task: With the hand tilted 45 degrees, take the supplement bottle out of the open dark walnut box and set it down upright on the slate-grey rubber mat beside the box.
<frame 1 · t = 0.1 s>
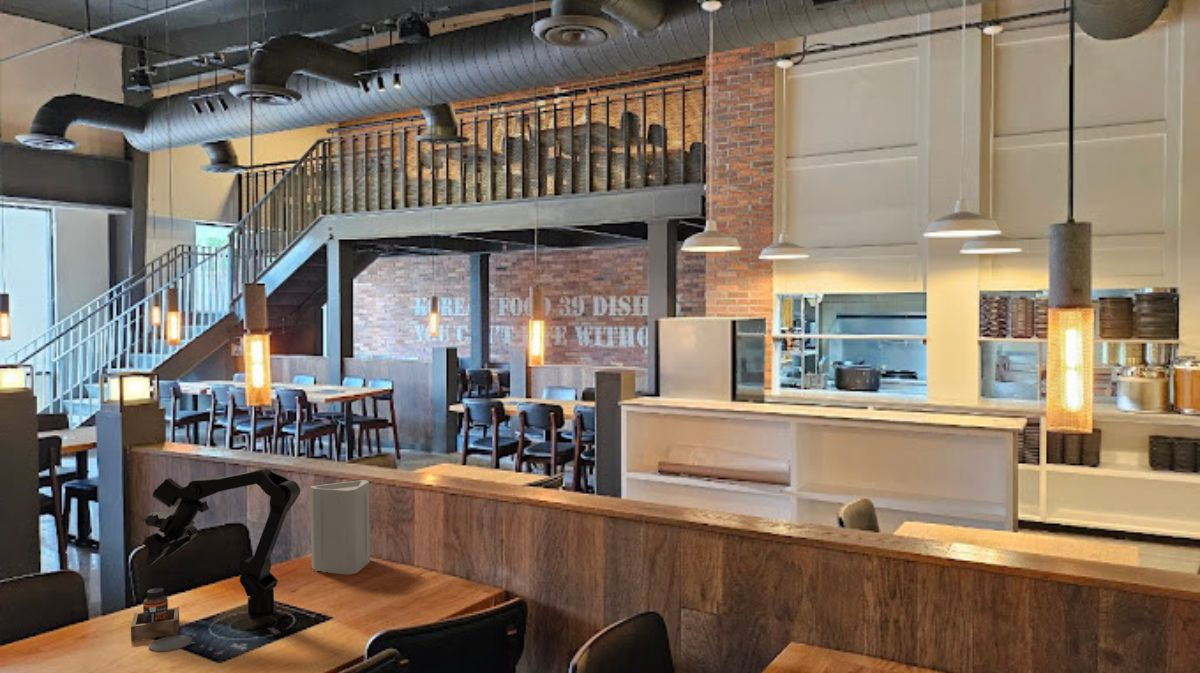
hand: (156, 560, 240), 15 cm above the table, tool tilted 35°, fingers open, 9 cm apart
supplement bottle: (156, 631, 226), resting in walnut box
walnut box: (156, 631, 226), on the table
rubber mat: (170, 644, 216), on the table
grey rounded wastebasket: (345, 569, 281), on the table
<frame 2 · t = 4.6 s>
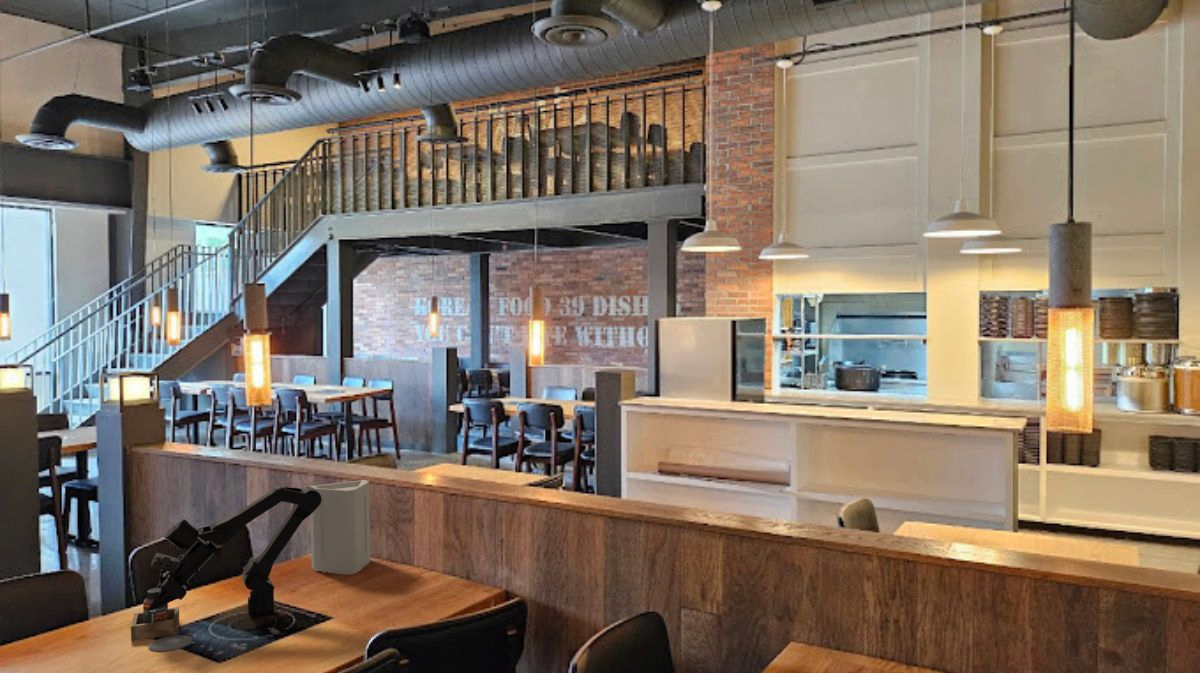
hand: (149, 606, 225), 7 cm above the table, tool tilted 45°, fingers closed on supplement bottle, 6 cm apart
supplement bottle: (156, 631, 226), resting in walnut box, touching gripper
everything else where it was.
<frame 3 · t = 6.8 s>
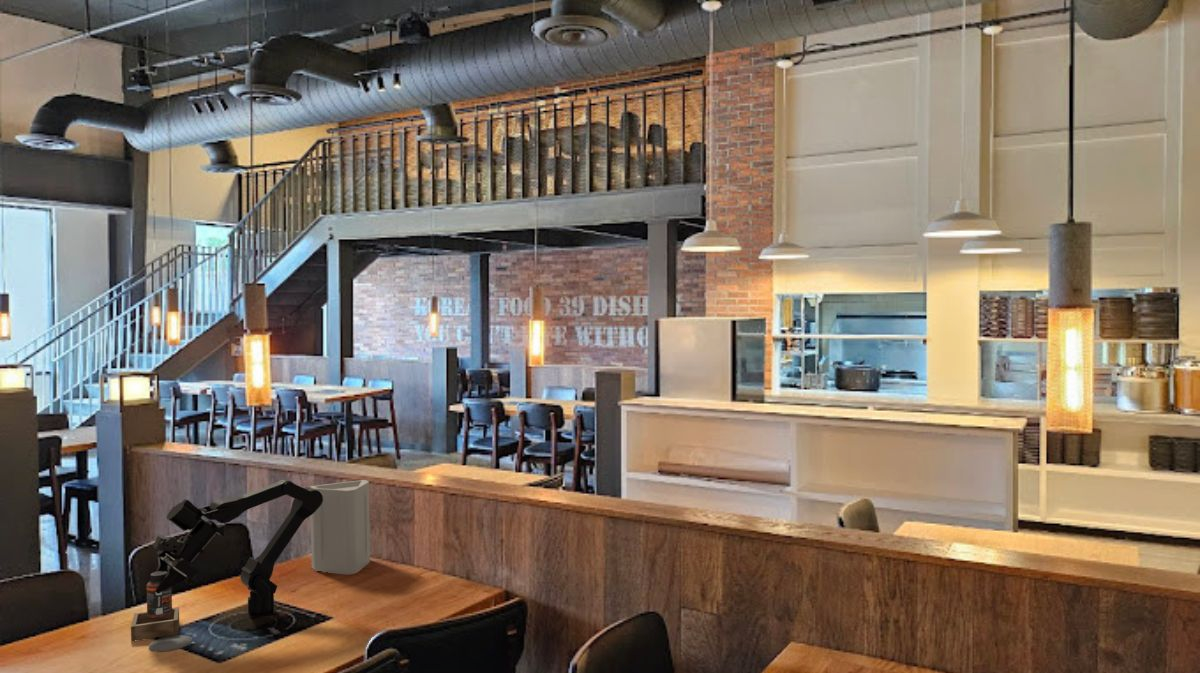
hand: (153, 589, 220), 13 cm above the table, tool tilted 45°, fingers closed on supplement bottle, 6 cm apart
supplement bottle: (159, 615, 221), point 6 cm above the table, touching gripper
everything else where it was.
when the fingers open (8 cm above the table, at t = 9.3 s): supplement bottle stays where it is, resting on rubber mat.
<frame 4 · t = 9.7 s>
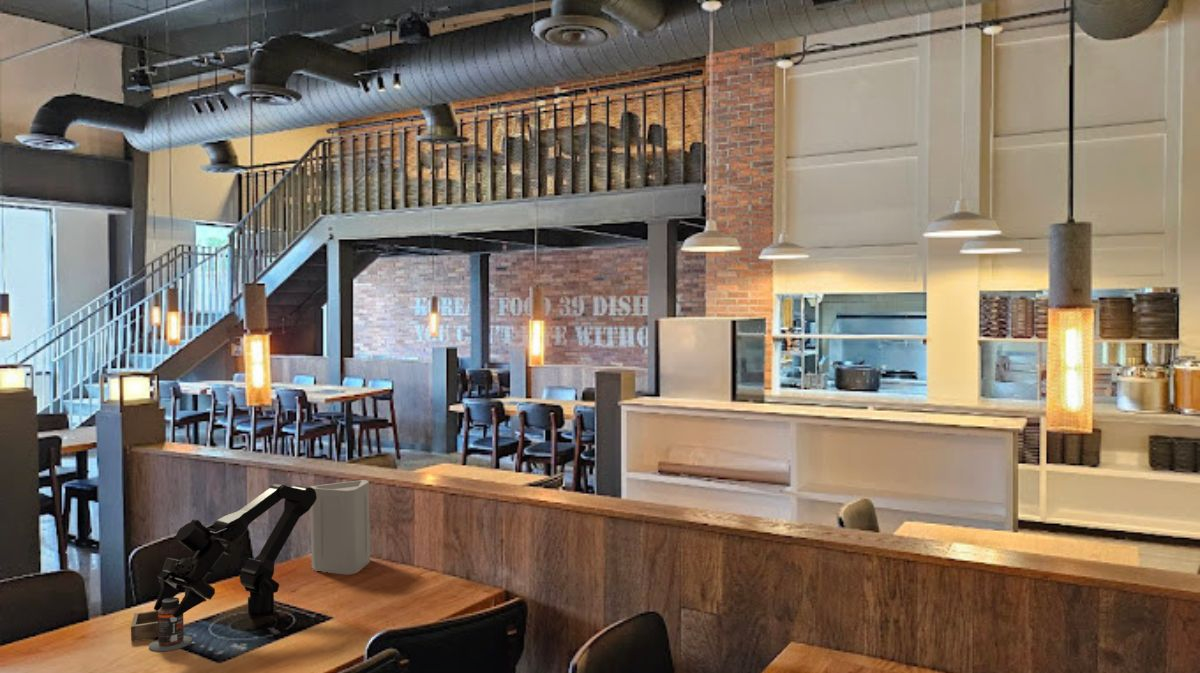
hand: (164, 613, 215), 9 cm above the table, tool tilted 45°, fingers open, 9 cm apart
supplement bottle: (171, 643, 217), resting on rubber mat
everything else where it was.
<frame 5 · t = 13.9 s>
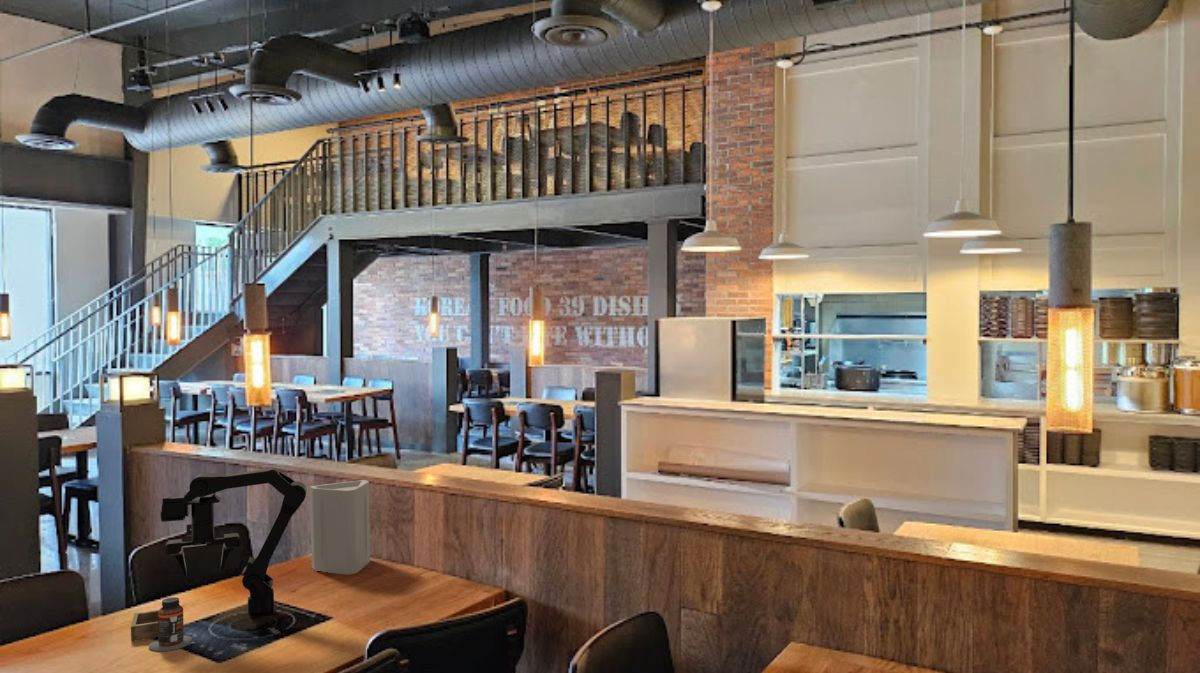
hand: (203, 573, 234), 13 cm above the table, tool pointing down, fingers open, 9 cm apart
nothing on the table moved.
at the end: supplement bottle 0.1 cm off-centre on the rubber mat, point 0.2 cm above the rubber mat's base; supplement bottle tilted 0°; the gripper is holding nothing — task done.
